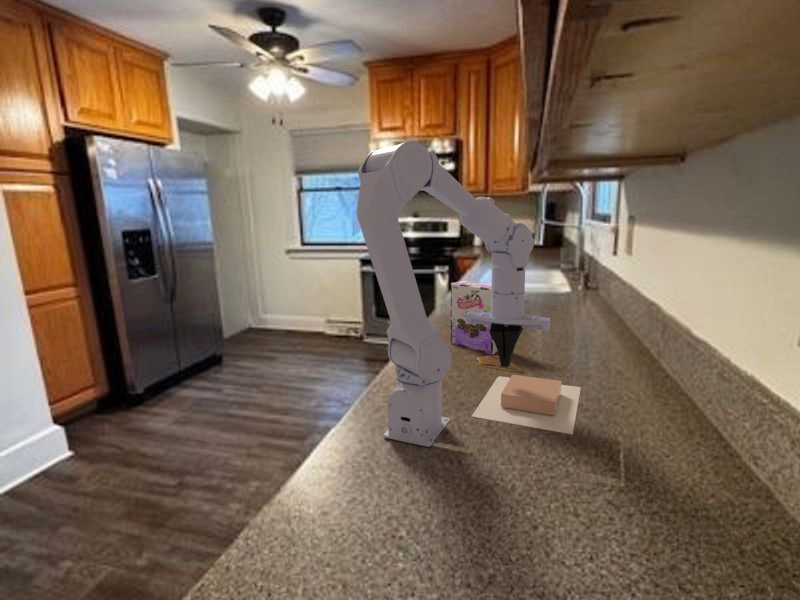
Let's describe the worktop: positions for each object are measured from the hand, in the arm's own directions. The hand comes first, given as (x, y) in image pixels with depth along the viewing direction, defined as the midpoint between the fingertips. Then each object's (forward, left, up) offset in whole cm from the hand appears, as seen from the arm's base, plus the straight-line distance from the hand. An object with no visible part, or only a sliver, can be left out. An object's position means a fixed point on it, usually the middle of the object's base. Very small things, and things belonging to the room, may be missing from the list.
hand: (505, 364), depth 82 cm
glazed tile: (0, 0, -5) cm, 5 cm away
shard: (+18, +4, -8) cm, 20 cm away
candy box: (+30, +13, -7) cm, 34 cm away
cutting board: (0, -5, -7) cm, 8 cm away
